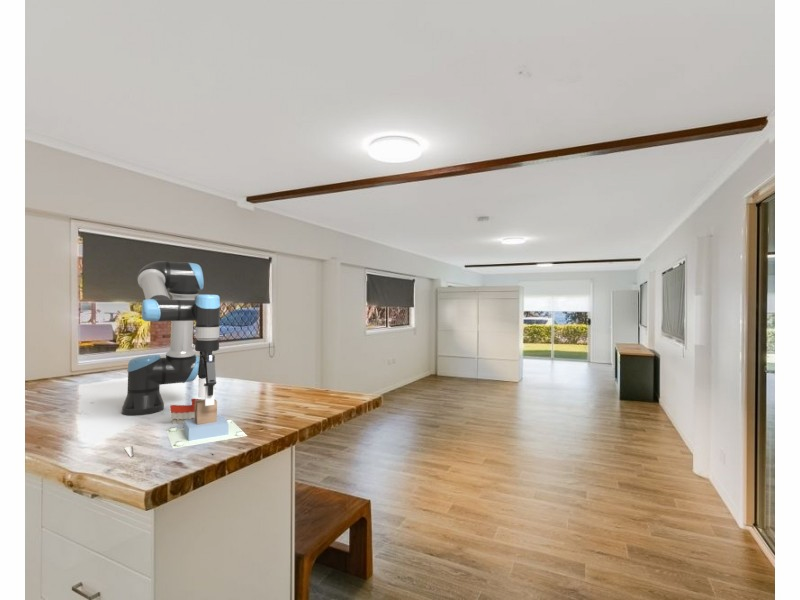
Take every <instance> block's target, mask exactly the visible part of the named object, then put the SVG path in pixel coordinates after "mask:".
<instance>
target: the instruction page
mask: <svg viewBox="0 0 800 600" xmlns="http://www.w3.org/2000/svg"><path fill="white" fill-rule="evenodd" d="M133 447H134V446H133V445H132V446H127V447H124V448H123V449H124V451H125V452H126V453H127V454H128V456H129V457H130V458H133V457H134V455H135V454H134V448H133Z"/></svg>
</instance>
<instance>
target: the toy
mask: <svg viewBox="0 0 800 600" xmlns="http://www.w3.org/2000/svg"><path fill="white" fill-rule="evenodd" d="M203 399H204V398H203ZM203 399H200V398H191V401H190V402H191V405H190V404H188V405H186V404H185V405H184V404H183V405H182V404H181V405H177V404H171V405H170V406H169V407H170V413H171V414H170V419H171V423H172V424H173V425H184V420H189V419H195V400H203Z"/></svg>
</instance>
